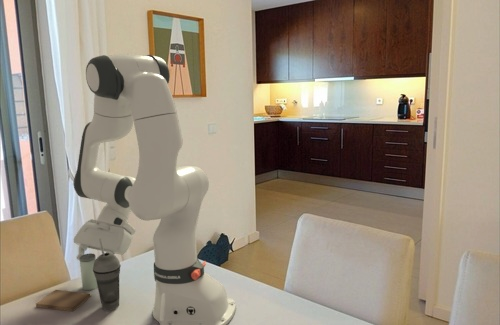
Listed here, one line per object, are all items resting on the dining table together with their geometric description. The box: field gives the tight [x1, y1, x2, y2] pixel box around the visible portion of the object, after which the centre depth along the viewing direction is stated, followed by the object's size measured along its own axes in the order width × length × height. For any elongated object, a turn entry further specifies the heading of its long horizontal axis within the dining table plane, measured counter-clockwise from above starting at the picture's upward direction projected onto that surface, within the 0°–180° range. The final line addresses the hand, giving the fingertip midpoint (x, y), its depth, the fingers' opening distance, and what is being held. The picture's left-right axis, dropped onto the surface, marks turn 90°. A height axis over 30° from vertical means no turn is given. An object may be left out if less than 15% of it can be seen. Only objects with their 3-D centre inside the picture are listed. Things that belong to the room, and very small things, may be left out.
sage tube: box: [78, 252, 98, 291], centre depth 124 cm, size 5×5×10 cm
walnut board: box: [35, 289, 92, 312], centre depth 116 cm, size 12×8×1 cm, turn 76°
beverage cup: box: [93, 238, 122, 312], centre depth 111 cm, size 7×7×20 cm
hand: (90, 262), depth 124 cm, fingers open, 8 cm apart
